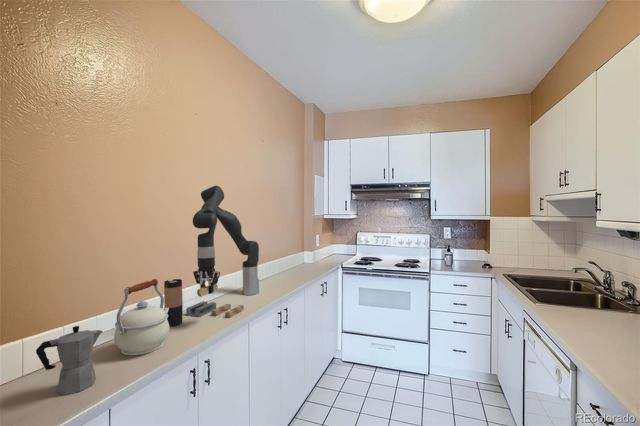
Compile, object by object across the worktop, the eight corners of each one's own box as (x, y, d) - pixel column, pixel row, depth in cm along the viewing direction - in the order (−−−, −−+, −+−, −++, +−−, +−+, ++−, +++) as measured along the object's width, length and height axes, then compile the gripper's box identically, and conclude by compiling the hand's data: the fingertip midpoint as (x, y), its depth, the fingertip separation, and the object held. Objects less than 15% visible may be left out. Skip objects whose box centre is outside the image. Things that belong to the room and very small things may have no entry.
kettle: (141, 363, 104) (140, 291, 103) (97, 359, 107) (95, 289, 107) (187, 334, 128) (186, 275, 128) (150, 331, 132) (149, 274, 132)
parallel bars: (226, 308, 162) (226, 303, 162) (243, 310, 158) (243, 305, 158) (211, 315, 150) (211, 310, 150) (229, 317, 147) (229, 313, 147)
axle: (211, 290, 146) (211, 282, 145) (217, 291, 144) (218, 283, 144) (196, 296, 136) (197, 288, 136) (203, 297, 135) (203, 289, 135)
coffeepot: (100, 371, 99) (99, 316, 99) (107, 382, 92) (106, 323, 92) (35, 392, 87) (34, 331, 87) (38, 406, 81) (37, 340, 81)
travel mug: (178, 326, 137) (177, 282, 136) (161, 326, 137) (160, 282, 137) (185, 320, 144) (185, 278, 144) (170, 320, 144) (169, 279, 144)
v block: (203, 307, 163) (202, 301, 163) (216, 309, 160) (216, 302, 160) (186, 315, 152) (186, 308, 152) (200, 316, 149) (200, 309, 149)
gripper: (187, 256, 138) (188, 294, 138) (213, 258, 134) (214, 296, 134) (199, 254, 145) (200, 290, 146) (224, 255, 141) (225, 292, 141)
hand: (207, 293), depth 140 cm, fingers closed on axle, 3 cm apart
